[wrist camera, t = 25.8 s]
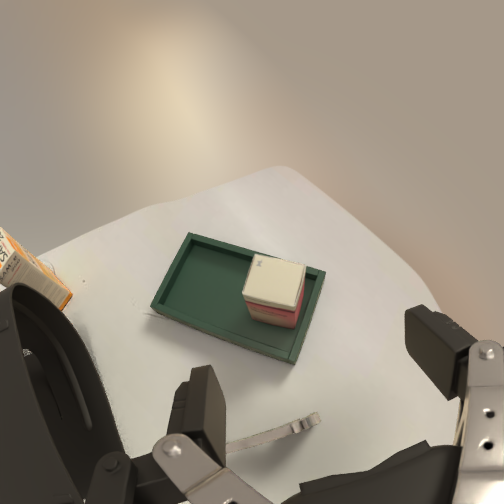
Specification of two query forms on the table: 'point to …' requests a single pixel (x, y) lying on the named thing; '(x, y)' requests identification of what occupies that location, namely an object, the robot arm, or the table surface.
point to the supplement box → (29, 271)
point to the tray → (229, 298)
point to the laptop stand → (48, 404)
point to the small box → (274, 290)
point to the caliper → (274, 433)
